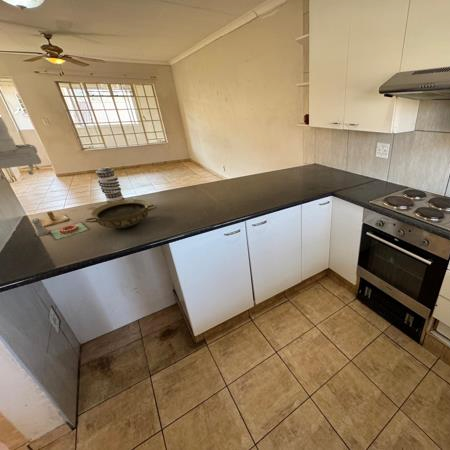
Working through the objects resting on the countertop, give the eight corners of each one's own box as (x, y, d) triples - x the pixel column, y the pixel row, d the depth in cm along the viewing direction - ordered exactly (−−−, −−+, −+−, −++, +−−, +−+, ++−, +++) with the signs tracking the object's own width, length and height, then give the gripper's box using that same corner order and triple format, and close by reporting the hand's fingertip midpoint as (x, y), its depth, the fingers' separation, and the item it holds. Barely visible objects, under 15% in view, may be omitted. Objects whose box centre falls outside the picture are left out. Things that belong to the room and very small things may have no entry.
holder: (43, 228, 124) (38, 217, 122) (39, 222, 130) (34, 212, 127) (68, 221, 131) (64, 211, 129) (63, 216, 137) (59, 206, 134)
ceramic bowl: (91, 244, 110) (81, 225, 105) (91, 225, 127) (83, 207, 122) (164, 225, 126) (159, 208, 121) (155, 210, 143) (151, 194, 138)
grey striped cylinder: (129, 206, 149) (115, 165, 137) (127, 211, 142) (112, 168, 130) (111, 208, 145) (95, 166, 134) (108, 214, 138) (91, 170, 126)
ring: (62, 235, 117) (61, 232, 116) (58, 231, 120) (57, 228, 120) (80, 229, 121) (79, 227, 121) (76, 225, 125) (75, 223, 124)
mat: (57, 240, 114) (56, 239, 113) (50, 232, 120) (50, 231, 120) (88, 230, 122) (88, 229, 122) (81, 223, 129) (80, 222, 128)
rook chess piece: (46, 231, 121) (38, 216, 118) (51, 233, 120) (43, 218, 116) (35, 235, 118) (26, 220, 114) (39, 237, 116) (30, 222, 112)
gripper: (32, 142, 119) (45, 171, 125) (-34, 148, 105) (-16, 179, 111) (35, 144, 116) (48, 173, 122) (-34, 150, 101) (-14, 182, 107)
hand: (17, 176), depth 116 cm, fingers open, 8 cm apart
